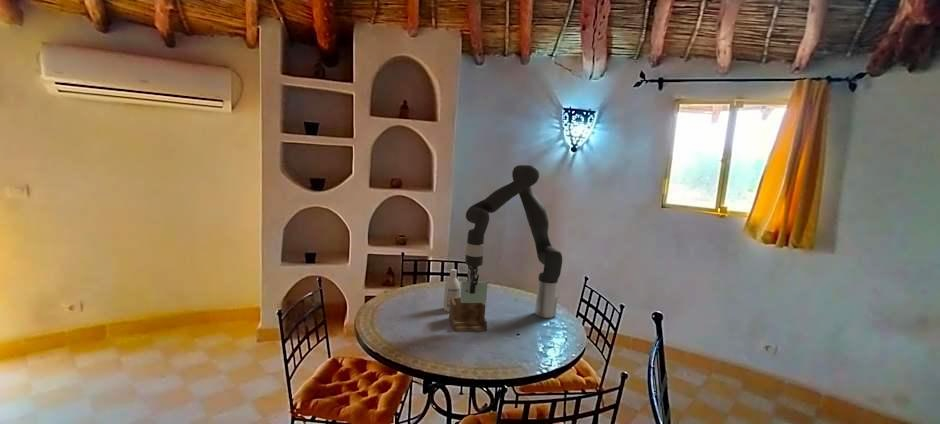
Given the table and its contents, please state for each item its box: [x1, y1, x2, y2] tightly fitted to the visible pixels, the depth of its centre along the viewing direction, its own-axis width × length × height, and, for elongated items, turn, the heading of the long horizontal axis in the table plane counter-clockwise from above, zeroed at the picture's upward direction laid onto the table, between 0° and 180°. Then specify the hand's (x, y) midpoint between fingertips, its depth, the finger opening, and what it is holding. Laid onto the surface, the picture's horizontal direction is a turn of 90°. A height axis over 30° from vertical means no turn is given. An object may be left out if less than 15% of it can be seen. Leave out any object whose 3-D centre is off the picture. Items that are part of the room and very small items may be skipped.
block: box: [459, 280, 488, 304], centre depth 219 cm, size 11×3×9 cm, turn 101°
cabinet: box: [448, 296, 488, 332], centre depth 225 cm, size 14×14×10 cm
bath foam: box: [443, 268, 461, 313], centre depth 240 cm, size 7×7×20 cm
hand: (471, 292), depth 219 cm, fingers closed on block, 2 cm apart
